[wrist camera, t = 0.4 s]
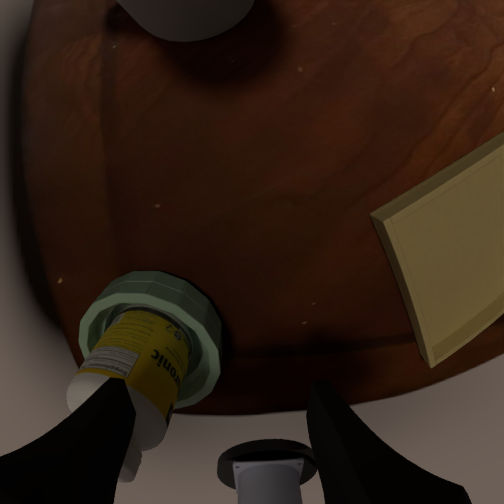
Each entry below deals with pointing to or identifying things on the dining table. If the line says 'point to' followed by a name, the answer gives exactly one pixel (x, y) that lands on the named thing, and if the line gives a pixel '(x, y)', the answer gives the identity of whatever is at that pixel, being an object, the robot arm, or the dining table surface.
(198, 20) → the cup
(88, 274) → the dining table surface
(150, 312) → the supplement bottle
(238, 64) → the dining table surface
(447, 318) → the enamel tray
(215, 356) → the celadon dish
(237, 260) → the dining table surface
